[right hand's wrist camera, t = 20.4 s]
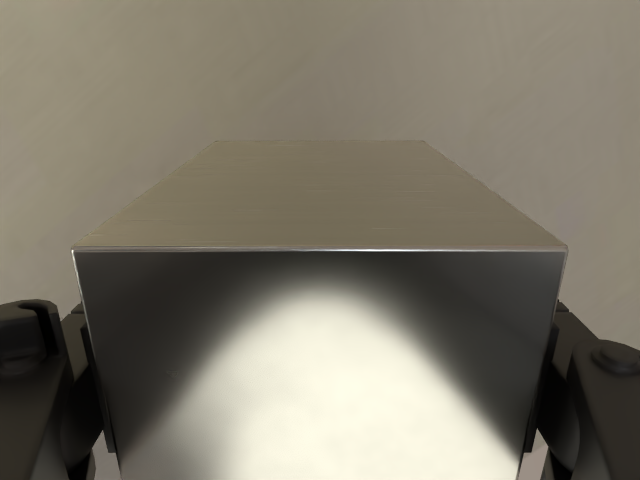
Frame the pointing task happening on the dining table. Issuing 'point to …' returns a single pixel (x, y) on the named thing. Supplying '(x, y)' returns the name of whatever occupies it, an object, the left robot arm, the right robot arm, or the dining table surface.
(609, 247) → the dining table surface
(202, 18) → the dining table surface
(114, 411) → the grey block
